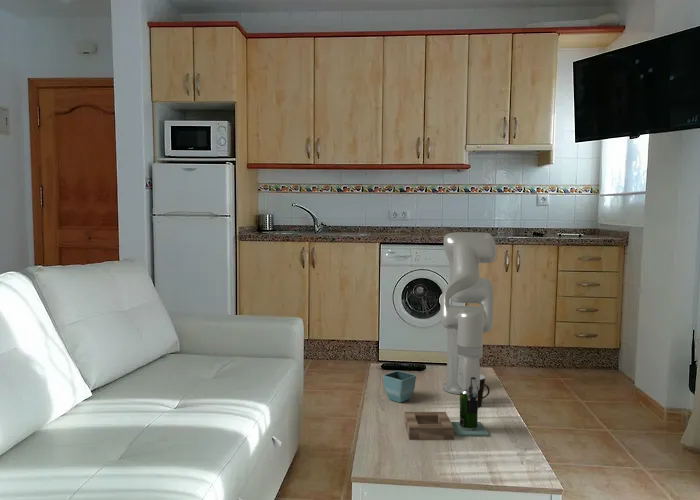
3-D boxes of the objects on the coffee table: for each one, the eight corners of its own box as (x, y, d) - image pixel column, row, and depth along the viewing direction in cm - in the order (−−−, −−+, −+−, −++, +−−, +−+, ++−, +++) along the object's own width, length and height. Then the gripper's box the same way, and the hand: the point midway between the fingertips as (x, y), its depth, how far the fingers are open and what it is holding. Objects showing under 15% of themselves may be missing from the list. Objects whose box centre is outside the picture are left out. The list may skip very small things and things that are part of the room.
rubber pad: (448, 423, 167) (449, 421, 167) (480, 423, 167) (480, 421, 167) (455, 436, 157) (455, 434, 157) (489, 436, 157) (489, 434, 157)
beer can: (468, 432, 159) (469, 392, 158) (455, 426, 163) (456, 387, 163) (481, 428, 162) (481, 389, 161) (468, 423, 166) (468, 385, 166)
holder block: (404, 422, 168) (404, 411, 168) (445, 422, 168) (445, 411, 168) (409, 439, 155) (409, 427, 155) (453, 439, 155) (453, 428, 155)
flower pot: (416, 399, 189) (417, 375, 189) (401, 406, 183) (401, 380, 183) (397, 394, 195) (397, 370, 195) (382, 400, 189) (382, 375, 189)
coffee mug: (456, 400, 189) (456, 372, 188) (480, 400, 190) (480, 372, 189) (466, 412, 177) (466, 382, 177) (491, 411, 178) (491, 382, 177)
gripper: (451, 344, 170) (450, 399, 171) (463, 358, 152) (462, 419, 153) (475, 344, 170) (474, 399, 171) (489, 358, 152) (488, 419, 153)
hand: (468, 408), depth 162 cm, fingers open, 7 cm apart
